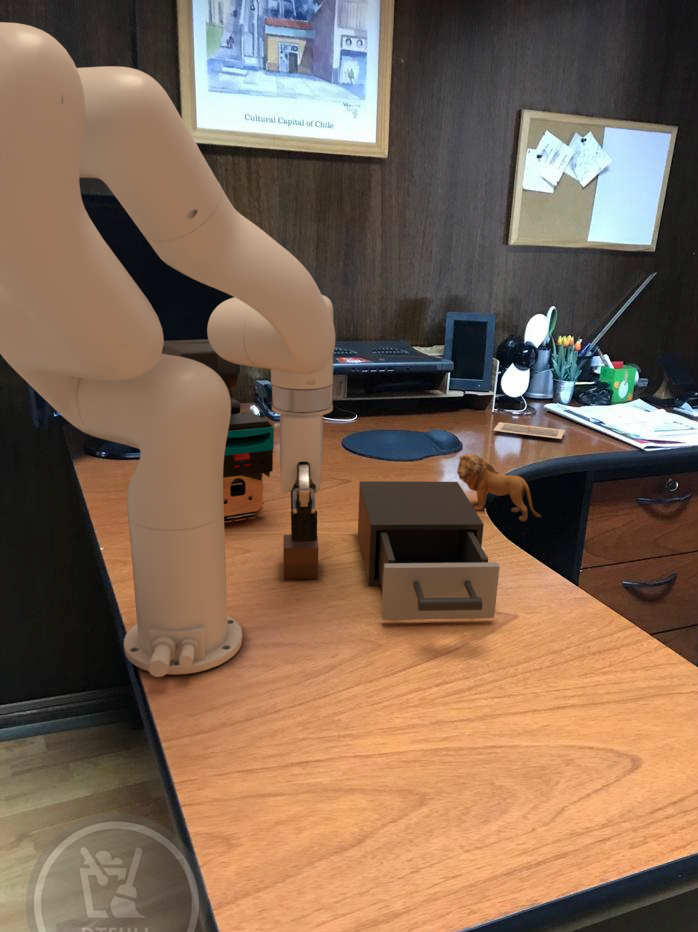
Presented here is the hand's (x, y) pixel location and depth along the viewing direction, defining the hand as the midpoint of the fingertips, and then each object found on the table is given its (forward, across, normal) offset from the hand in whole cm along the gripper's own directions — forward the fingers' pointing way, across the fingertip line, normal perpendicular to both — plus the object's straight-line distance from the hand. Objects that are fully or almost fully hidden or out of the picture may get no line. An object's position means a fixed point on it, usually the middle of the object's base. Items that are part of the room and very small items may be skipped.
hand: (303, 525), depth 101 cm
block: (+7, +1, 0) cm, 7 cm away
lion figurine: (+8, -21, +32) cm, 39 cm away
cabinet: (+7, -3, +16) cm, 17 cm away
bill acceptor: (+7, -24, -14) cm, 29 cm away
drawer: (+6, +11, +16) cm, 20 cm away
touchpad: (+9, -68, +52) cm, 86 cm away
